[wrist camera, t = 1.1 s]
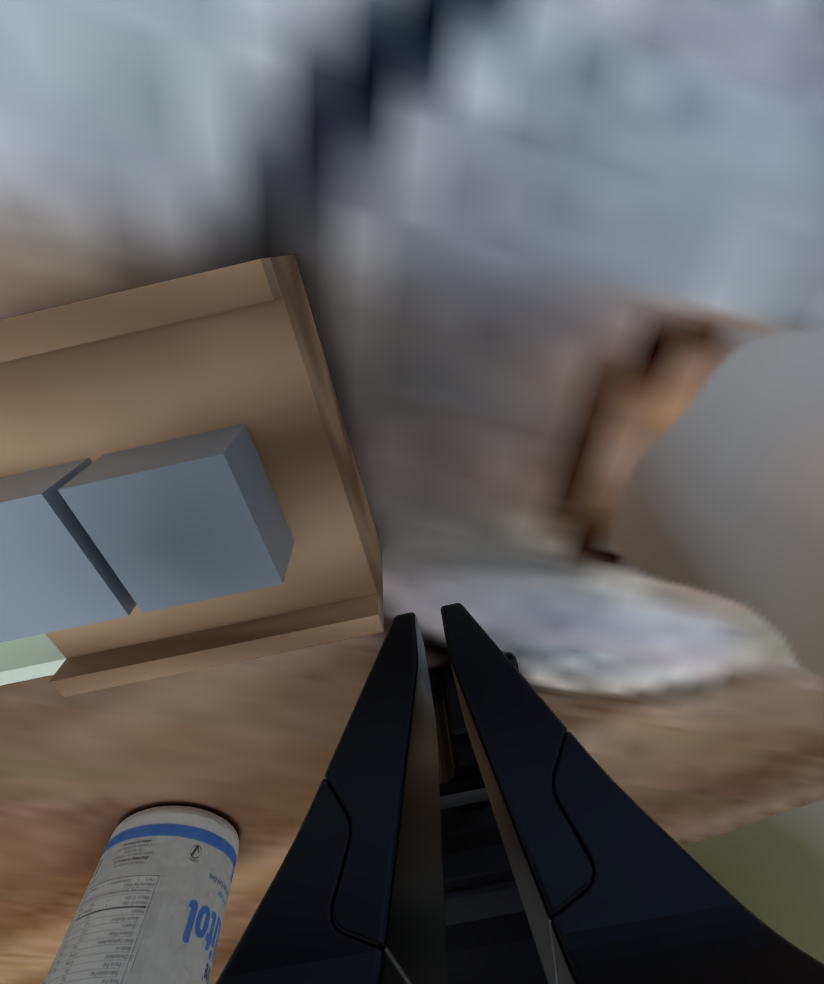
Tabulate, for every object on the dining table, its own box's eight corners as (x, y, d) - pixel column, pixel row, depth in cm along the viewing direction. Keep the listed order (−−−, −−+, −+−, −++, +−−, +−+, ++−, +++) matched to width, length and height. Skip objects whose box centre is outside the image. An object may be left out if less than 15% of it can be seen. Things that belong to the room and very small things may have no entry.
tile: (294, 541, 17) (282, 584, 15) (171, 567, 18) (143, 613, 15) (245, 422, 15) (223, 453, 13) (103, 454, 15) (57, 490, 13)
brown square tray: (381, 549, 23) (383, 631, 18) (127, 602, 24) (63, 696, 19) (294, 254, 17) (260, 258, 12) (-60, 337, 17) (-239, 375, 12)
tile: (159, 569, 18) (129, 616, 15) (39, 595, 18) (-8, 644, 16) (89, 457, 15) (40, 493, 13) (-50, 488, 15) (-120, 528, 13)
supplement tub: (261, 845, 37) (203, 1157, 25) (158, 869, 38) (49, 1185, 25) (204, 787, 33) (95, 1135, 20) (87, 816, 33) (-91, 1170, 21)
